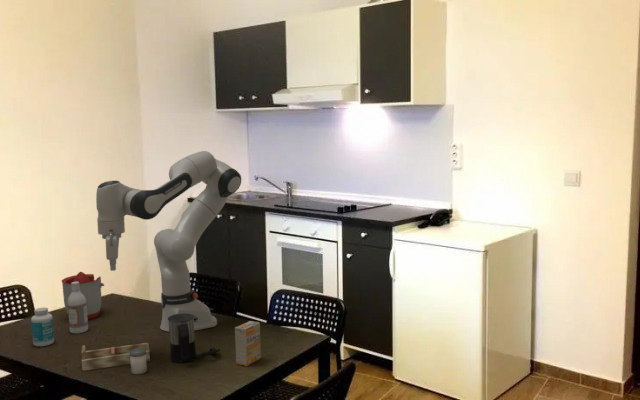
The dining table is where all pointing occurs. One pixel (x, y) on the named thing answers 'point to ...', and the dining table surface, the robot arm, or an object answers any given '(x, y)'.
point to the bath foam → (77, 310)
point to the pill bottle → (42, 327)
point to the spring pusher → (112, 351)
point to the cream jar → (138, 361)
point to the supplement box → (247, 343)
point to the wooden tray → (110, 356)
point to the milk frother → (184, 338)
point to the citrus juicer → (85, 292)
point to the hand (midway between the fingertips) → (113, 267)
